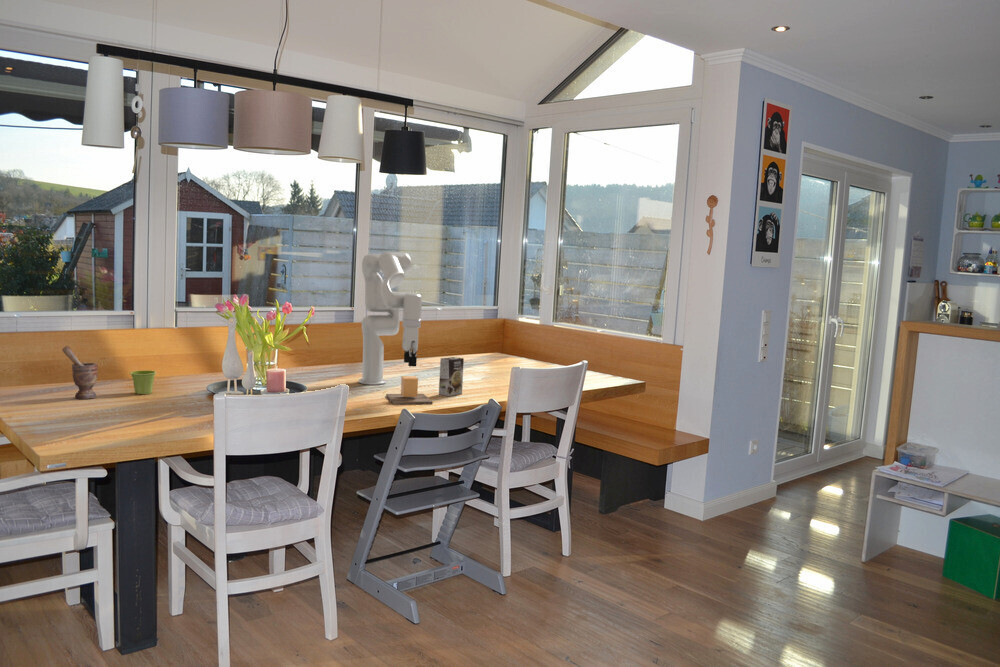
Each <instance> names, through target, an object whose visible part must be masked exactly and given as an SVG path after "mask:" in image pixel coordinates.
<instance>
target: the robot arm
mask: <svg viewBox="0 0 1000 667" xmlns="http://www.w3.org/2000/svg"><path fill="white" fill-rule="evenodd" d="M411 268H412V258H411V256H410V255H409V254H408V253H407V252H399V251H398V252H396V251H385V252H382V253H368V254H365V255H364V256H363V258H362V261H361V271H362V274H363V278H364V304H365V305H364V306H365V309H366V310H367V311H368V312H370V313H371V312H372V313H387V314H369V315H366V316H364V317H363V318H362V320H361V332H362V365H361V366H362V371H361V378H359V379H358V383H360V384H361V385H362V384H363V385H371V386H372V385H373V386H374V385H375V386H376V385H385V384H387V380H386V379H385V378H384V354H385V352H384V350H385V346H384V342H383V340H382V339H381V338H380V337H381V336H395V335H397V334H398V333H399V330H400V318H401V317H400V316H401V315H400V313H401V312H400V311H401V310H402V326H401V327H402V328H403V331H402V332H403V333H402V344H401V345H402V346H401V347H402V350H404V351H403V352H404V353H403V362H404V363H408V367H416V366H417V359H418V358H417V357H418V355H417V351H418V348H419V329H420V328H421V326H422V325H421V324H422V305H423V304H422V303H423V297H422V295H421V293H416V292H415V291H414V292H413V291H394V290H393V291H392V289H395V288H396V287H397V288H398V287H399V286H400V285H402V284H403V283H404V281H405V280H406V275H405V273H407V272H409V271H410V270H411ZM380 273H382V275H383V277H384V280H383V277H382V276H381V275H380Z"/></svg>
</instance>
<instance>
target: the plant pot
mask: <svg viewBox="0 0 1000 667" xmlns="http://www.w3.org/2000/svg"><path fill="white" fill-rule="evenodd" d="M156 373H157V371H156V370H134V371H131V372H130V375H131V378H132V381H133V382H132V383H133V389H134V394H135V393H137V394H136V395H138V394H139V395H143V394H146V395H150V394H152V393H153V387H154V386H153V385H154V380H155V376H156Z"/></svg>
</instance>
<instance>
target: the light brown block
mask: <svg viewBox="0 0 1000 667" xmlns="http://www.w3.org/2000/svg"><path fill="white" fill-rule="evenodd" d="M418 382H419V378H418V377H417V376H415V375H413V376H412V375H409V376H408V375H407V376H406V375H405V376H401V384H400V385H401V386H400V394H401V395H402V396H403V397H417V394H418V392H419V391H418V390H419V389H418V388H419V383H418Z"/></svg>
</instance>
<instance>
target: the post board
mask: <svg viewBox="0 0 1000 667" xmlns="http://www.w3.org/2000/svg"><path fill="white" fill-rule="evenodd" d="M385 396H386V398H387V399H388V400H389V401H390V403H391V404H392V405H393V406H398V405H399V406H400V405H403V406H405V405H406V406H407V405H409V406H410V405H411V406H412V405H413V406H414V405H433V401H432V400H431V399H430V398H429V397H428V396H427V395H425V394H424V393H417V397H403V396H402V395H401V393H386V394H385Z"/></svg>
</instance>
